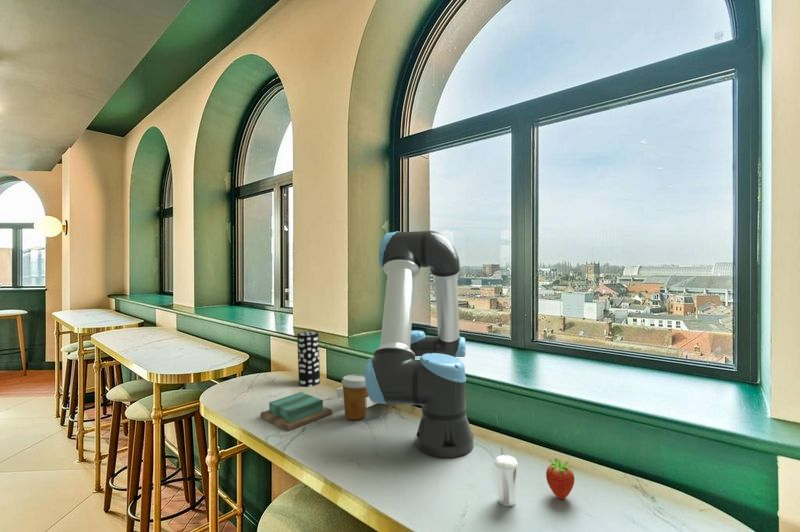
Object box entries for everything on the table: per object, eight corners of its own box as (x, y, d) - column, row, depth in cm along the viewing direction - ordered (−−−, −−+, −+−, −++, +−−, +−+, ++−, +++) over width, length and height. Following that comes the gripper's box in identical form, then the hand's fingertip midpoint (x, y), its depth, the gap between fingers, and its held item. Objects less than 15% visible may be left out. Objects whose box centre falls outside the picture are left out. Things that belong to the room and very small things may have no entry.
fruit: (548, 503, 81) (548, 464, 81) (544, 489, 86) (543, 452, 86) (577, 506, 80) (576, 466, 80) (571, 491, 85) (570, 453, 85)
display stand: (332, 414, 130) (331, 399, 130) (288, 431, 118) (288, 415, 118) (303, 402, 141) (302, 389, 141) (260, 417, 129) (260, 402, 129)
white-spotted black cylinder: (298, 381, 165) (296, 332, 164) (319, 379, 167) (317, 330, 167) (299, 387, 157) (297, 336, 156) (321, 385, 159) (319, 334, 159)
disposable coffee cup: (376, 415, 128) (378, 377, 129) (356, 424, 121) (357, 383, 121) (354, 409, 134) (355, 372, 134) (333, 416, 126) (335, 377, 127)
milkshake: (513, 492, 86) (512, 445, 85) (521, 508, 80) (520, 458, 80) (491, 493, 85) (490, 446, 85) (498, 509, 80) (497, 459, 80)
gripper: (425, 399, 133) (380, 420, 118) (373, 384, 150) (326, 400, 134) (425, 376, 133) (379, 394, 117) (372, 364, 150) (326, 378, 134)
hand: (351, 397), depth 126 cm, fingers open, 13 cm apart
